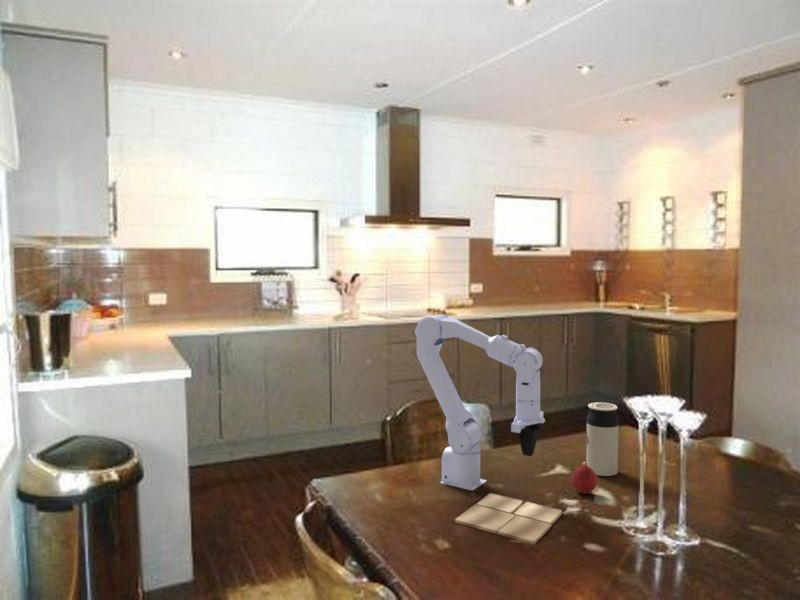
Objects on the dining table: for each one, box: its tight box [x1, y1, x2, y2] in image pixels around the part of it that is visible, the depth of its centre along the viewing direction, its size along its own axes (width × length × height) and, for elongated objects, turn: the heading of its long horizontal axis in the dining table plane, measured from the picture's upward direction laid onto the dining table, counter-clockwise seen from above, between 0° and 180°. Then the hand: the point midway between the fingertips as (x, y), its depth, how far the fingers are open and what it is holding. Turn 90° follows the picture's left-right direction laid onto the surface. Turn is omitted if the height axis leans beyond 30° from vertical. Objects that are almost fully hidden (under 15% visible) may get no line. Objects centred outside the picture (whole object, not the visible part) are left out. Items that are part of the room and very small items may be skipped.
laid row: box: [454, 504, 552, 546], centre depth 125 cm, size 18×9×1 cm, turn 55°
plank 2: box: [513, 500, 563, 526], centre depth 129 cm, size 8×7×1 cm
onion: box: [571, 461, 598, 495], centre depth 141 cm, size 6×6×8 cm
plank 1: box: [475, 492, 524, 515], centre depth 134 cm, size 8×7×1 cm
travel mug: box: [585, 401, 619, 477], centre depth 156 cm, size 8×8×18 cm
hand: (527, 454), depth 141 cm, fingers closed
